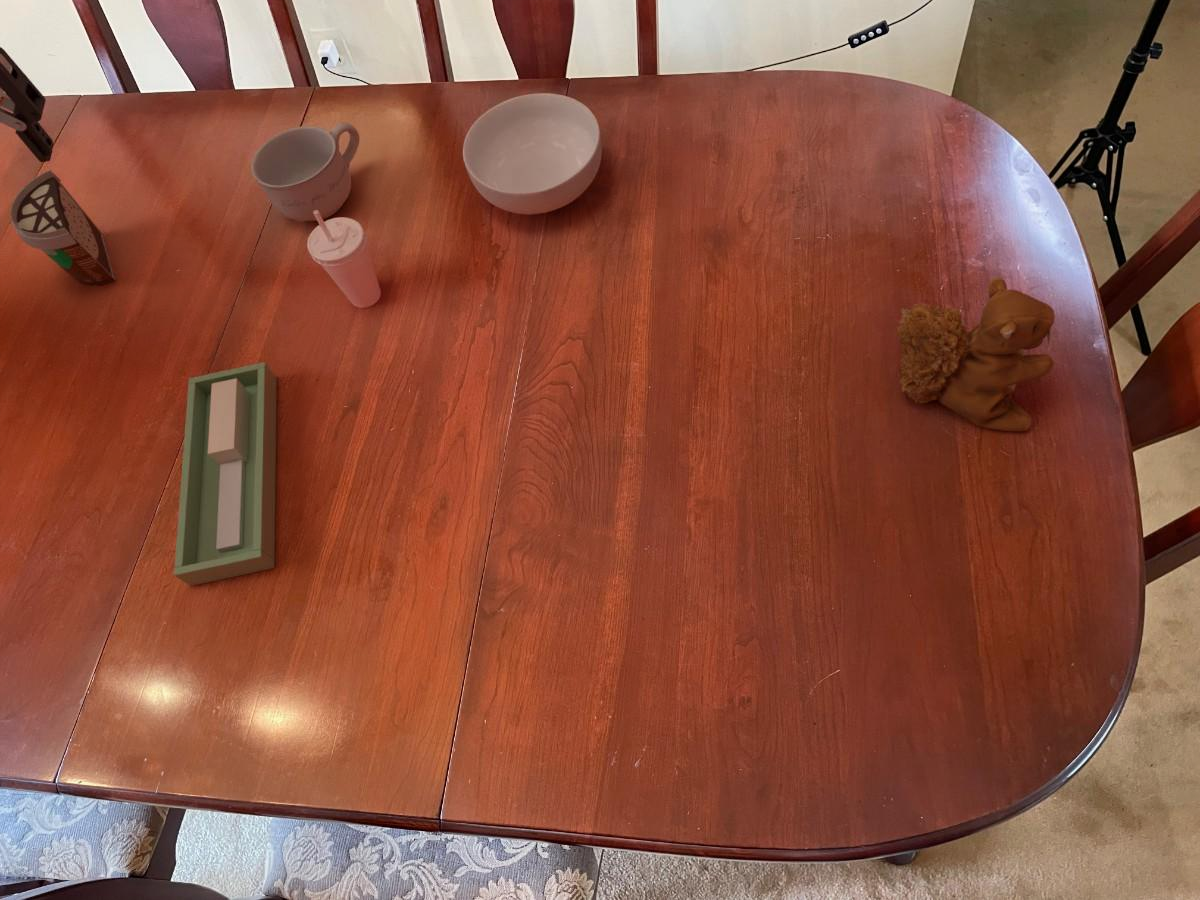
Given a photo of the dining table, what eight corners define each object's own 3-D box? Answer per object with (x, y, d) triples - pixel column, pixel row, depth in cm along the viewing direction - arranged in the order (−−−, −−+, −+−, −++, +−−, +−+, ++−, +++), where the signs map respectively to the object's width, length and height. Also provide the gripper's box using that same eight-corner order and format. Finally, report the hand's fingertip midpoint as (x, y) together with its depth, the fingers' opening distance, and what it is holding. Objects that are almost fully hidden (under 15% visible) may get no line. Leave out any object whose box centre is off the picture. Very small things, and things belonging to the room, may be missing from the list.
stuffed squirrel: (1034, 435, 82) (1087, 356, 71) (883, 423, 85) (911, 344, 73) (1027, 352, 87) (1075, 265, 76) (884, 342, 89) (910, 256, 78)
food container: (54, 245, 110) (-1, 187, 102) (100, 226, 111) (49, 167, 103) (69, 309, 104) (12, 252, 96) (117, 288, 105) (65, 230, 97)
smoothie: (328, 303, 100) (276, 218, 88) (363, 267, 103) (318, 178, 91) (367, 324, 98) (320, 240, 86) (403, 287, 100) (361, 199, 88)
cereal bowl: (482, 141, 111) (470, 96, 105) (608, 134, 110) (603, 87, 103) (468, 238, 103) (453, 195, 97) (603, 232, 101) (597, 187, 95)
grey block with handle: (225, 398, 94) (211, 383, 92) (249, 393, 94) (236, 378, 92) (217, 553, 85) (202, 541, 82) (245, 547, 85) (230, 535, 82)
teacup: (297, 247, 106) (268, 199, 99) (265, 198, 111) (235, 149, 104) (395, 195, 108) (373, 145, 101) (359, 149, 113) (337, 99, 106)
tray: (274, 568, 84) (260, 556, 81) (189, 586, 84) (173, 575, 81) (276, 376, 96) (264, 361, 93) (202, 392, 96) (188, 377, 93)
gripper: (-42, -42, 68) (83, 124, 82) (-217, -9, 68) (-62, 151, 82) (-63, 14, 64) (71, 178, 78) (-249, 48, 64) (-81, 206, 78)
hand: (3, 164), depth 80 cm, fingers open, 8 cm apart
